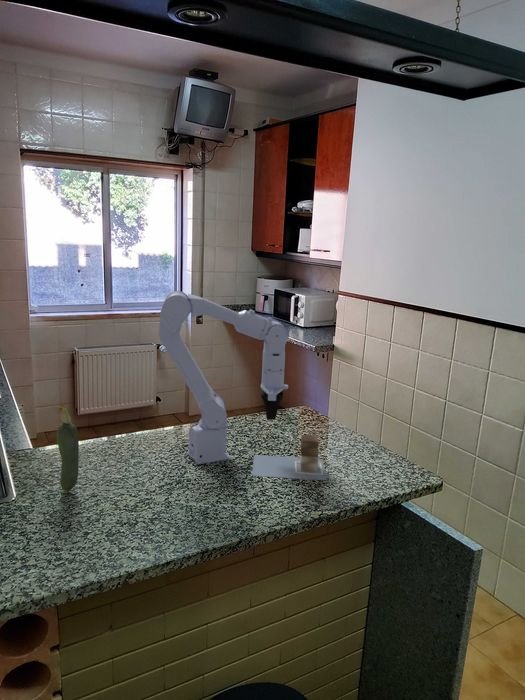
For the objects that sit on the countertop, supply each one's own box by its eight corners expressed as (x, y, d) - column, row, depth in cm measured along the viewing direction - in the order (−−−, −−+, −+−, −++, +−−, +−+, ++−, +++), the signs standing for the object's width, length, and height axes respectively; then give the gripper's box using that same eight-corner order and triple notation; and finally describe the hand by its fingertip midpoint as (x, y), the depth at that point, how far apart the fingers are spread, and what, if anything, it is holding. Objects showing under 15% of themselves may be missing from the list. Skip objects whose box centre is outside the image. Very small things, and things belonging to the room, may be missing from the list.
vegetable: (81, 488, 112) (79, 402, 108) (78, 497, 108) (75, 409, 104) (60, 488, 112) (57, 402, 107) (56, 498, 107) (52, 409, 103)
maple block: (300, 471, 125) (302, 456, 124) (300, 464, 129) (301, 449, 128) (317, 472, 125) (318, 457, 124) (315, 465, 129) (317, 450, 128)
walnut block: (301, 456, 124) (302, 440, 123) (300, 449, 128) (301, 434, 127) (317, 457, 124) (318, 441, 123) (316, 450, 128) (317, 435, 127)
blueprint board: (251, 477, 121) (251, 475, 121) (254, 456, 133) (254, 454, 133) (326, 482, 121) (326, 479, 121) (322, 461, 133) (322, 458, 133)
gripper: (289, 376, 122) (286, 429, 125) (288, 362, 136) (285, 410, 139) (260, 375, 122) (258, 428, 125) (262, 361, 136) (260, 408, 139)
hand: (271, 418), depth 132 cm, fingers closed
